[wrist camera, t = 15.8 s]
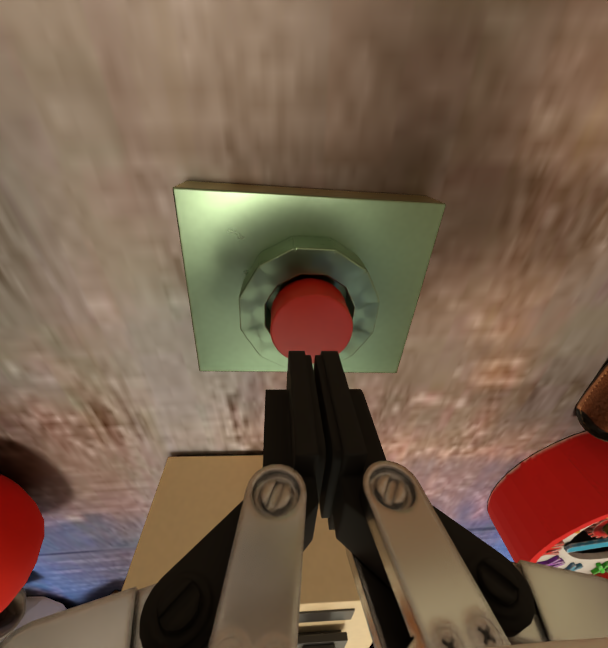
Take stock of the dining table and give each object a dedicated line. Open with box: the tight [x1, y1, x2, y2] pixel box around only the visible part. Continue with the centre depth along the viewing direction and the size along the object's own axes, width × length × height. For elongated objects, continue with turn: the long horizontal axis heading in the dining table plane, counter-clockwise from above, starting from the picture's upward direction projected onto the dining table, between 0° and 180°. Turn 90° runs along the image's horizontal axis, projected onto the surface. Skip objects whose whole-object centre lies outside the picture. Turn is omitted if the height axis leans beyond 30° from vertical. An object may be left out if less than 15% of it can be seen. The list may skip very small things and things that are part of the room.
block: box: [173, 181, 446, 373], centre depth 16 cm, size 12×10×4 cm
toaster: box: [122, 455, 373, 648], centre depth 24 cm, size 16×11×10 cm
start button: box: [270, 278, 353, 364], centre depth 14 cm, size 4×4×2 cm
